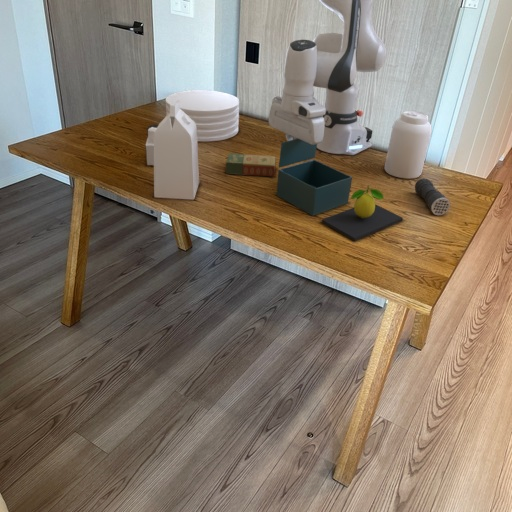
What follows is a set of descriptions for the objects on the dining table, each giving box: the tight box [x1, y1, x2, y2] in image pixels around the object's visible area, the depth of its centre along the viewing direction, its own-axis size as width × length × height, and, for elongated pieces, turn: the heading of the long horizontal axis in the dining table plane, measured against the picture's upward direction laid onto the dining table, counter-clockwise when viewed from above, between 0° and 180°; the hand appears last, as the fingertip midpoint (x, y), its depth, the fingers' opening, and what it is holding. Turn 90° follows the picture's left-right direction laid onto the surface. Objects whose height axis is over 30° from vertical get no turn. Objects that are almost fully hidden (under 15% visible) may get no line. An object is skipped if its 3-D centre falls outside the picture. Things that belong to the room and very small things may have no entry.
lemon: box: [350, 185, 385, 218], centre depth 135 cm, size 7×6×10 cm
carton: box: [225, 152, 277, 178], centre depth 163 cm, size 8×16×4 cm, turn 86°
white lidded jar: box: [383, 110, 433, 180], centre depth 164 cm, size 12×12×20 cm
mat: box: [321, 203, 403, 242], centre depth 138 cm, size 20×12×1 cm, turn 129°
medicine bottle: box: [144, 124, 159, 166], centre depth 163 cm, size 7×7×12 cm
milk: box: [153, 99, 200, 201], centre depth 142 cm, size 12×12×26 cm
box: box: [276, 159, 353, 217], centre depth 146 cm, size 16×15×8 cm
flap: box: [278, 139, 318, 169], centre depth 146 cm, size 8×14×1 cm
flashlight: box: [414, 178, 452, 216], centre depth 148 cm, size 15×5×5 cm, turn 5°
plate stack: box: [165, 89, 240, 142], centre depth 193 cm, size 28×28×12 cm
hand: (292, 149), depth 148 cm, fingers closed
